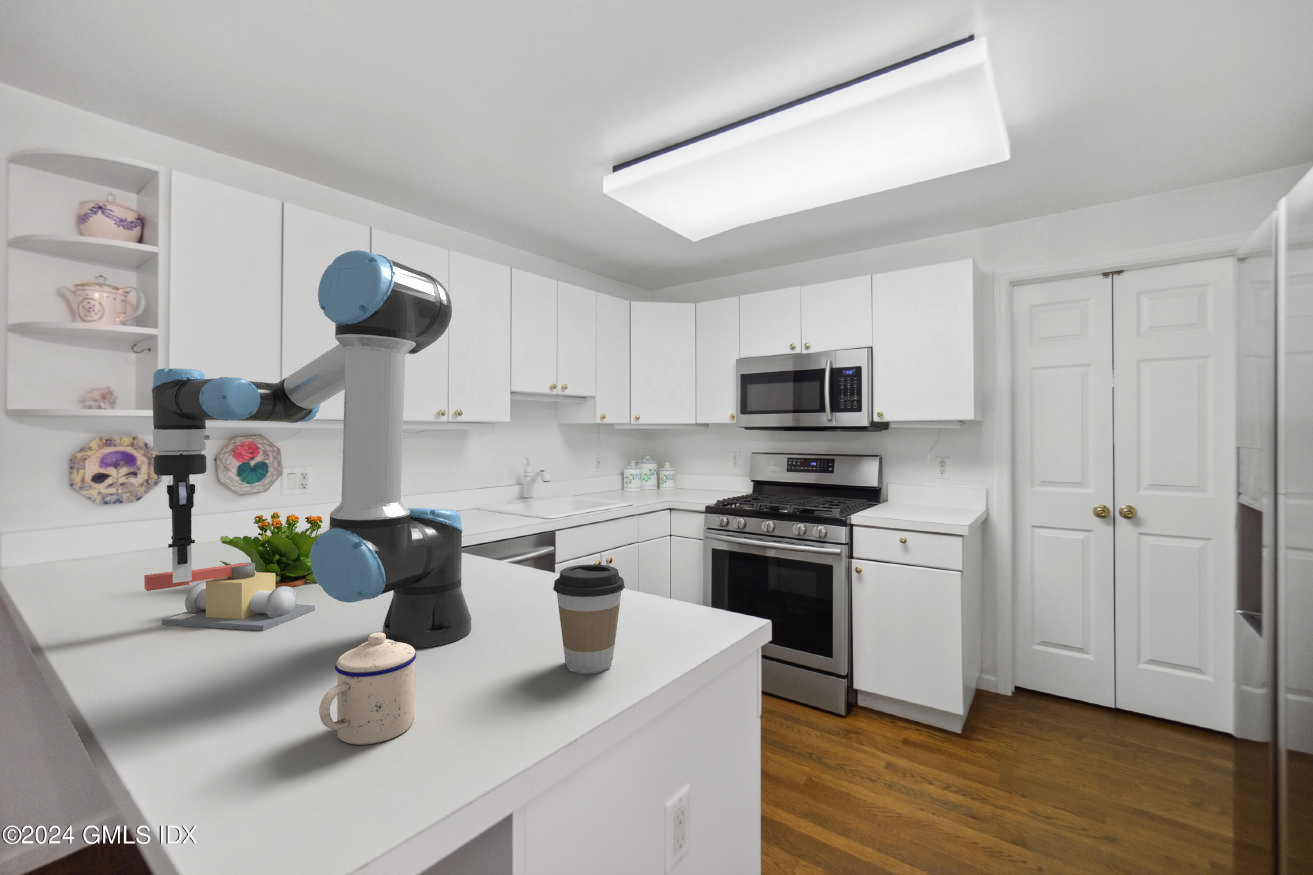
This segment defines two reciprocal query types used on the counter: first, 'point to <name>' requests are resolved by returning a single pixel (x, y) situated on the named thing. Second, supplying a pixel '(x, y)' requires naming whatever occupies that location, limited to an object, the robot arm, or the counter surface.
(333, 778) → the counter surface
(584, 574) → the coffee cup
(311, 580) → the potted flower
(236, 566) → the lever
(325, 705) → the teacup with lid
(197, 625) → the valve base
